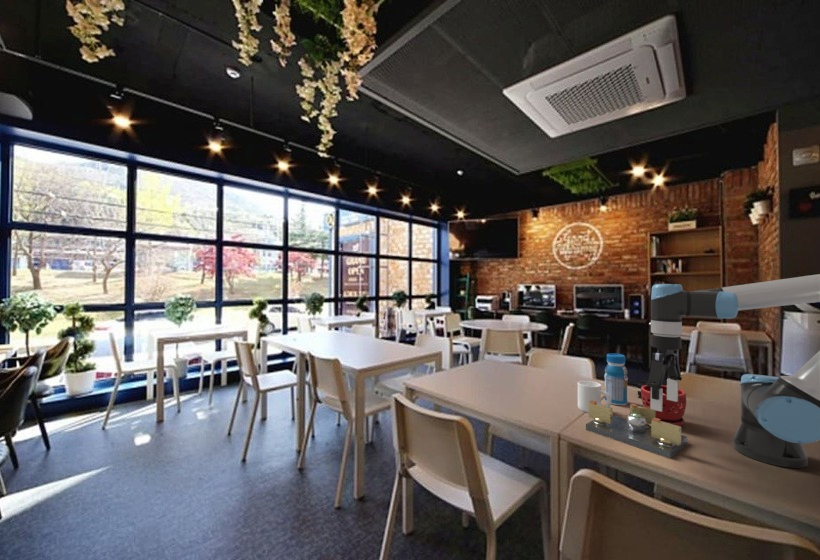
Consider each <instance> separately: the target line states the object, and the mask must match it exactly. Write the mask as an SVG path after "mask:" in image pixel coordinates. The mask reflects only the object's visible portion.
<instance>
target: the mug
mask: <svg viewBox="0 0 820 560" xmlns="http://www.w3.org/2000/svg"><path fill="white" fill-rule="evenodd" d="M602 395H604V397H605V396H606V398H607V402H606V404H604V406H608V407H611V405H612V404H611V398H610V396H609V394H608V393H607V392H606V391H605V389H602V384H601V383H599V382H596V381H593V380H592V381H591V380H580V381H577V408H578V409H579V410H580V411H582V412H583V413H584V412H585V413H588V412H589V401H596V403H597V404H600V405H602Z"/></svg>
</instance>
